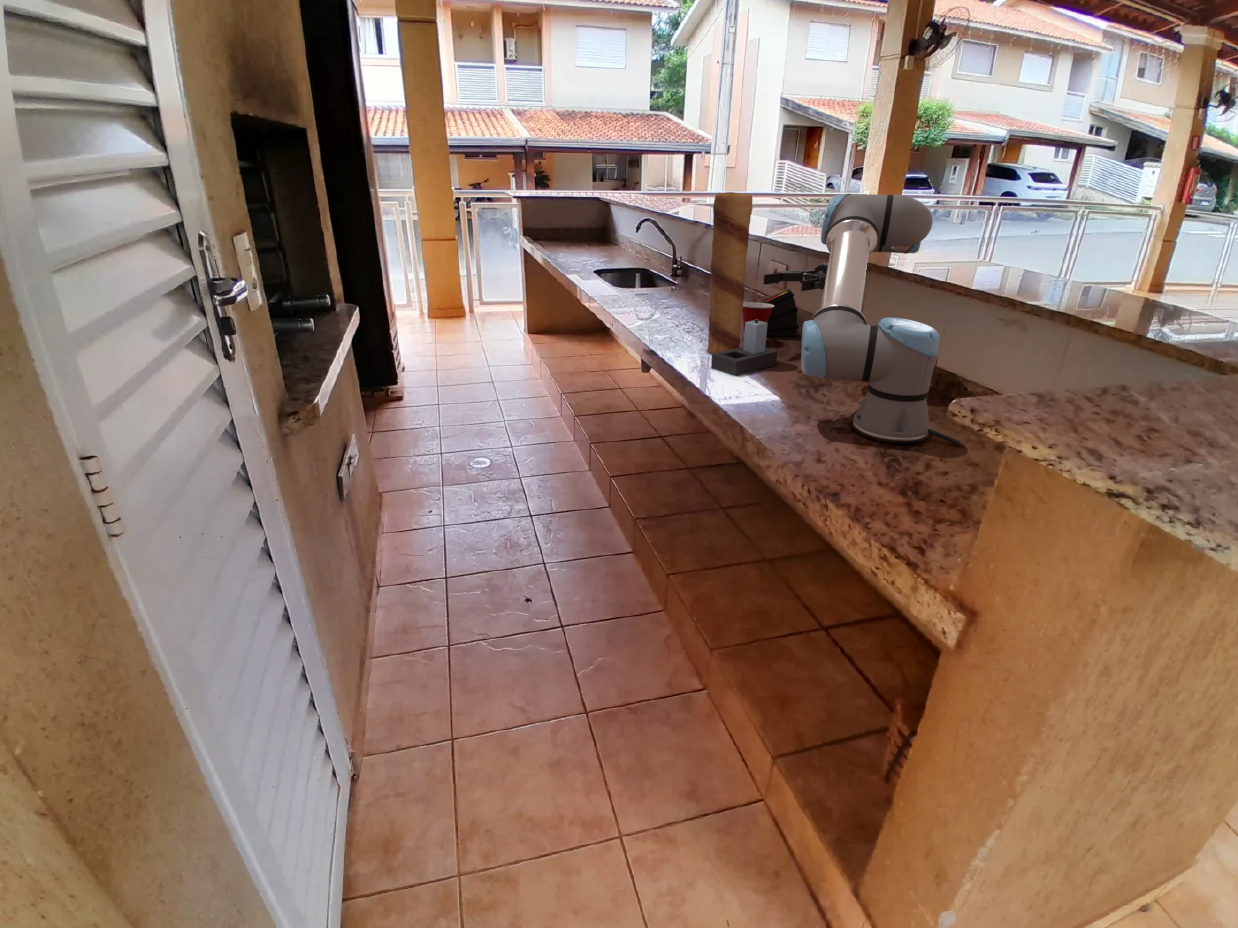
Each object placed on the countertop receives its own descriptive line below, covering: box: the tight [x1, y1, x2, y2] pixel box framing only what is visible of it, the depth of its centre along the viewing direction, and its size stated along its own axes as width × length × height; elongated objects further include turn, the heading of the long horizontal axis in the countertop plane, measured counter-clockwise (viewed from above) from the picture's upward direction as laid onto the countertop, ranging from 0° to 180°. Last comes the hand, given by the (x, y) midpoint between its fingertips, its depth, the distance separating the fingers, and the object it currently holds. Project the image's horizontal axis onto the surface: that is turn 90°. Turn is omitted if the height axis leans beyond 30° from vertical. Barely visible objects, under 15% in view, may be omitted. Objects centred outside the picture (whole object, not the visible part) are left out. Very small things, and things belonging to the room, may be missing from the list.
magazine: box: [758, 288, 800, 337], centre depth 205 cm, size 4×13×15 cm, turn 88°
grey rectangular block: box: [742, 319, 768, 354], centre depth 175 cm, size 4×4×13 cm
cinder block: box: [710, 346, 778, 376], centre depth 175 cm, size 9×17×4 cm, turn 126°
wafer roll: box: [707, 191, 753, 355], centre depth 180 cm, size 10×11×45 cm
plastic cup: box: [741, 301, 774, 334], centre depth 199 cm, size 11×11×12 cm
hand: (783, 282), depth 174 cm, fingers open, 13 cm apart
